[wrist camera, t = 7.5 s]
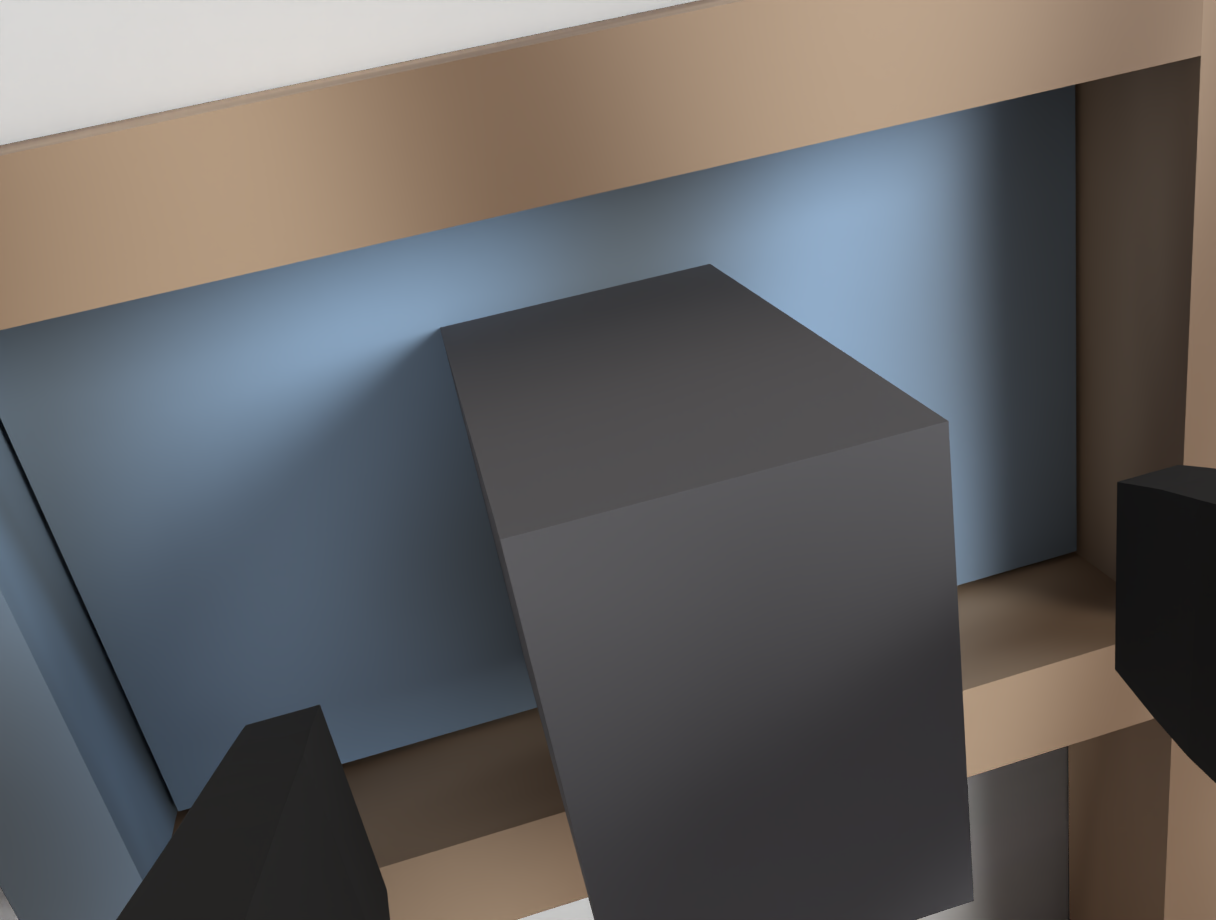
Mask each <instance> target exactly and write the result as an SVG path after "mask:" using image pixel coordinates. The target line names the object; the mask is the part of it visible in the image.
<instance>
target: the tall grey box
mask: <svg viewBox="0 0 1216 920" xmlns="http://www.w3.org/2000/svg"><path fill="white" fill-rule="evenodd" d="M440 330H441V334H442V338H443V342H444V346H445V350H446V354H447V357H448V361H449V365H450V369H451V373H452V377H453V381H454V385H455V389H456V393H457V397H458V401H459V405H460V408H461V412H462V416H463V420H464V424H465V428H466V432H467V436H468V440H469V444H470V448H471V452H472V456H473V459H474V463H475V467H476V471H477V475H478V479H479V483H480V487H481V491H482V495H483V499H484V503H485V507H486V510H487V514H488V518H489V522H490V526H491V530H492V534H493V538H494V542H495V546H496V550H497V554H498V558H499V561H500V565H501V569H502V573H503V577H504V581H505V585H506V589H507V593H508V597H509V601H510V605H511V609H512V612H513V616H514V620H515V624H516V628H517V632H518V636H519V640H520V644H521V648H522V652H523V656H524V660H525V663H526V667H527V671H528V675H529V678H530V682H531V686H532V689H533V693H534V697H535V701H536V704H537V708H538V712H539V715H540V719H541V723H542V727H543V730H544V734H545V738H546V741H547V745H548V749H549V753H550V756H551V760H552V764H553V768H554V771H555V775H556V779H557V782H558V786H559V790H560V794H561V797H562V801H563V805H564V808H565V812H566V816H567V820H568V823H569V827H570V831H571V834H572V838H573V842H574V846H575V849H576V853H577V857H578V861H579V864H580V868H581V872H582V875H583V879H584V883H585V887H586V890H587V894H588V898H589V901H590V905H591V909H592V913H593V916H594V920H917V919H920V918H923V917H926V916H929V915H932V914H935V913H938V912H941V911H944V910H947V909H950V908H953V907H956V906H959V905H962V904H965V903H968V902H971V901H974V899H973V879H972V860H971V841H970V822H969V803H968V784H967V765H966V745H965V726H964V707H963V688H962V669H961V650H960V630H959V611H958V592H957V573H956V554H955V535H954V515H953V496H952V477H951V458H950V439H949V421H948V420H946V419H945V418H943V417H942V416H940V415H939V414H937V413H936V412H934V411H932V410H931V409H929V408H928V407H926V406H925V405H923V404H922V403H920V402H919V401H917V400H916V399H914V398H913V397H911V396H910V395H908V394H907V393H905V392H904V391H902V390H901V389H899V388H898V387H896V386H895V385H893V384H892V383H890V382H889V381H887V380H886V379H884V378H882V377H881V376H879V375H878V374H876V373H875V372H873V371H872V370H870V369H869V368H867V367H866V366H864V365H863V364H861V363H860V362H858V361H857V360H855V359H854V358H852V357H851V356H849V355H848V354H846V353H845V352H843V351H842V350H840V349H839V348H837V347H835V346H834V345H832V344H831V343H829V342H828V341H826V340H825V339H823V338H822V337H820V336H819V335H817V334H816V333H814V332H813V331H811V330H810V329H808V328H807V327H805V326H804V325H802V324H801V323H799V322H798V321H796V320H795V319H793V318H792V317H790V316H788V315H787V314H785V313H784V312H782V311H781V310H779V309H778V308H776V307H775V306H773V305H772V304H770V303H769V302H767V301H766V300H764V299H763V298H761V297H760V296H758V295H757V294H755V293H754V292H752V291H751V290H749V289H748V288H746V287H745V286H743V285H742V284H740V283H738V282H737V281H735V280H734V279H732V278H731V277H729V276H728V275H726V274H725V273H723V272H722V271H720V270H719V269H717V268H716V267H714V266H713V265H711V264H707V265H702V266H698V267H694V268H690V269H686V270H681V271H677V272H673V273H669V274H664V275H660V276H656V277H652V278H647V279H643V280H639V281H635V282H631V283H626V284H622V285H618V286H614V287H609V288H605V289H601V290H597V291H592V292H588V293H584V294H580V295H576V296H571V297H567V298H563V299H559V300H554V301H550V302H546V303H542V304H538V305H533V306H529V307H525V308H521V309H516V310H512V311H508V312H504V313H499V314H495V315H491V316H487V317H483V318H478V319H474V320H470V321H466V322H461V323H457V324H453V325H449V326H444V327H440Z"/></svg>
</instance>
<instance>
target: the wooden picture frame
mask: <svg viewBox="0 0 1216 920" xmlns="http://www.w3.org/2000/svg"><path fill="white" fill-rule="evenodd" d="M707 264H711V265H713V266H714V267H716V268H717V269H719V270H720V271H722V272H723V273H725V274H726V275H728V276H729V277H731V278H732V279H734V280H735V281H737V282H738V283H740V284H742V285H743V286H745V287H746V288H748V289H749V290H751V291H752V292H754V293H755V294H757V295H758V296H760V297H761V298H763V299H764V300H766V301H767V302H769V303H770V304H772V305H773V306H775V307H776V308H778V309H779V310H781V311H782V312H784V313H785V314H787V315H788V316H790V317H792V318H793V319H795V320H796V321H798V322H799V323H801V324H802V325H804V326H805V327H807V328H808V329H810V330H811V331H813V332H814V333H816V334H817V335H819V336H820V337H822V338H823V339H825V340H826V341H828V342H829V343H831V344H832V345H834V346H835V347H837V348H839V349H840V350H842V351H843V352H845V353H846V354H848V355H849V356H851V357H852V358H854V359H855V360H857V361H858V362H860V363H861V364H863V365H864V366H866V367H867V368H869V369H870V370H872V371H873V372H875V373H876V374H878V375H879V376H881V377H882V378H884V379H886V380H887V381H889V382H890V383H892V384H893V385H895V386H896V387H898V388H899V389H901V390H902V391H904V392H905V393H907V394H908V395H910V396H911V397H913V398H914V399H916V400H917V401H919V402H920V403H922V404H923V405H925V406H926V407H928V408H929V409H931V410H932V411H934V412H936V413H937V414H939V415H940V416H942V417H943V418H945V419H946V420H948V421H949V439H950V458H951V477H952V496H953V515H954V535H955V554H956V573H957V592H958V611H959V630H960V650H961V669H962V688H963V707H964V726H965V745H966V765H967V777H970V776H974V775H977V774H980V773H983V772H986V771H989V770H993V769H996V768H999V767H1002V766H1005V765H1009V764H1012V763H1015V762H1018V761H1021V760H1024V759H1028V758H1031V757H1034V756H1037V755H1040V754H1043V753H1047V752H1050V751H1053V750H1056V749H1059V748H1062V747H1066V746H1068V775H1069V916H1070V920H1216V783H1215V782H1214V781H1213V780H1212V779H1211V778H1210V777H1209V776H1208V775H1207V774H1205V773H1204V772H1203V771H1202V770H1201V769H1200V768H1199V767H1198V766H1197V765H1196V764H1195V763H1194V762H1193V761H1192V760H1191V759H1190V758H1189V757H1188V756H1187V755H1186V754H1185V753H1184V752H1183V751H1182V749H1181V748H1180V747H1179V746H1178V745H1177V744H1176V742H1175V741H1174V740H1173V739H1172V738H1171V737H1170V736H1169V734H1168V733H1167V732H1166V731H1165V730H1164V729H1163V728H1162V726H1161V725H1160V724H1159V723H1158V722H1157V721H1156V720H1155V718H1154V717H1153V716H1152V715H1151V714H1150V712H1149V711H1148V710H1147V709H1146V707H1145V706H1144V705H1143V704H1142V702H1141V701H1140V700H1139V699H1138V697H1137V696H1136V695H1135V694H1134V693H1133V691H1132V690H1131V689H1130V688H1129V686H1128V685H1127V684H1126V683H1125V681H1124V680H1123V679H1122V678H1121V676H1120V675H1119V674H1118V673H1117V671H1116V670H1115V616H1116V530H1117V482H1118V481H1122V480H1125V479H1129V478H1133V477H1136V476H1140V475H1143V474H1147V473H1151V472H1154V471H1158V470H1161V469H1165V468H1168V467H1172V466H1176V465H1187V466H1197V467H1207V468H1215V469H1216V0H700V1H695V2H690V3H685V4H680V5H675V6H671V7H666V8H661V9H656V10H651V11H647V12H642V13H637V14H632V15H627V16H622V17H618V18H613V19H608V20H603V21H598V22H593V23H589V24H584V25H579V26H574V27H569V28H565V29H560V30H555V31H550V32H545V33H540V34H536V35H531V36H526V37H521V38H516V39H511V40H507V41H502V42H497V43H492V44H487V45H483V46H478V47H473V48H468V49H463V50H458V51H454V52H449V53H444V54H439V55H434V56H430V57H425V58H420V59H415V60H410V61H405V62H401V63H396V64H391V65H386V66H381V67H376V68H372V69H367V70H362V71H357V72H352V73H348V74H343V75H338V76H333V77H328V78H323V79H319V80H314V81H309V82H304V83H299V84H294V85H290V86H285V87H280V88H275V89H270V90H266V91H261V92H256V93H251V94H246V95H241V96H237V97H232V98H227V99H222V100H217V101H212V102H208V103H203V104H198V105H193V106H188V107H184V108H179V109H174V110H169V111H164V112H159V113H155V114H150V115H145V116H140V117H135V118H131V119H126V120H121V121H116V122H111V123H106V124H102V125H97V126H92V127H87V128H82V129H77V130H73V131H68V132H63V133H58V134H53V135H49V136H44V137H39V138H34V139H29V140H24V141H20V142H15V143H10V144H5V145H0V887H1V889H2V891H3V892H4V894H5V896H6V898H7V899H8V901H9V903H10V905H11V907H12V908H13V910H14V912H15V914H16V915H17V917H18V919H19V920H116V919H117V918H118V916H119V915H120V913H121V912H122V910H123V909H124V907H125V906H126V904H127V903H128V901H129V900H130V898H131V897H132V895H133V894H134V893H135V891H136V890H137V888H138V887H139V885H140V884H141V882H142V881H143V879H144V878H145V876H146V875H147V873H148V872H149V871H150V869H151V868H152V866H153V865H154V863H155V862H156V860H157V859H158V857H159V856H160V854H161V853H162V851H163V850H164V848H165V847H166V845H167V844H168V842H169V841H170V839H171V838H172V836H173V834H174V833H175V831H176V830H177V828H178V827H179V825H180V824H181V822H182V821H183V819H184V818H185V816H186V815H187V813H188V812H189V810H190V808H191V807H192V805H193V804H194V802H195V801H196V799H197V798H198V796H199V795H200V793H201V791H202V790H203V788H204V787H205V785H206V784H207V782H208V781H209V779H210V778H211V776H212V775H213V773H214V772H215V770H216V769H217V767H218V766H219V764H220V763H221V761H222V759H223V758H224V756H225V755H226V753H227V752H228V750H229V749H230V747H231V746H232V744H233V743H234V741H235V740H236V738H237V737H238V735H239V734H240V732H241V731H242V730H243V728H244V727H245V725H248V724H252V723H255V722H259V721H263V720H266V719H270V718H273V717H277V716H280V715H284V714H288V713H291V712H295V711H298V710H302V709H305V708H309V707H313V706H316V705H320V706H321V709H322V711H323V714H324V717H325V720H326V723H327V725H328V728H329V731H330V734H331V736H332V739H333V742H334V745H335V747H336V750H337V753H338V756H339V759H340V761H341V764H342V767H343V770H344V772H345V775H346V778H347V781H348V783H349V786H350V789H351V792H352V794H353V797H354V800H355V803H356V806H357V808H358V811H359V814H360V817H361V819H362V822H363V825H364V828H365V830H366V833H367V836H368V839H369V841H370V844H371V847H372V850H373V853H374V855H375V858H376V861H377V864H378V866H379V869H380V872H381V875H382V877H383V880H384V883H385V886H386V889H387V895H388V904H389V913H390V920H517V919H520V918H523V917H527V916H530V915H533V914H536V913H539V912H542V911H546V910H549V909H552V908H555V907H558V906H561V905H565V904H568V903H571V902H574V901H577V900H580V899H584V898H587V897H588V894H587V890H586V887H585V883H584V879H583V875H582V872H581V868H580V864H579V861H578V857H577V853H576V849H575V846H574V842H573V838H572V834H571V831H570V827H569V823H568V820H567V816H566V812H565V808H564V805H563V801H562V797H561V794H560V790H559V786H558V782H557V779H556V775H555V771H554V768H553V764H552V760H551V756H550V753H549V749H548V745H547V741H546V738H545V734H544V730H543V727H542V723H541V719H540V715H539V712H538V708H537V704H536V701H535V697H534V693H533V689H532V686H531V682H530V678H529V675H528V671H527V667H526V663H525V660H524V656H523V652H522V648H521V644H520V640H519V636H518V632H517V628H516V624H515V620H514V616H513V612H512V609H511V605H510V601H509V597H508V593H507V589H506V585H505V581H504V577H503V573H502V569H501V565H500V561H499V558H498V554H497V550H496V546H495V542H494V538H493V534H492V530H491V526H490V522H489V518H488V514H487V510H486V507H485V503H484V499H483V495H482V491H481V487H480V483H479V479H478V475H477V471H476V467H475V463H474V459H473V456H472V452H471V448H470V444H469V440H468V436H467V432H466V428H465V424H464V420H463V416H462V412H461V408H460V405H459V401H458V397H457V393H456V389H455V385H454V381H453V377H452V373H451V369H450V365H449V361H448V357H447V354H446V350H445V346H444V342H443V338H442V334H441V330H440V327H444V326H449V325H453V324H457V323H461V322H466V321H470V320H474V319H478V318H483V317H487V316H491V315H495V314H499V313H504V312H508V311H512V310H516V309H521V308H525V307H529V306H533V305H538V304H542V303H546V302H550V301H554V300H559V299H563V298H567V297H571V296H576V295H580V294H584V293H588V292H592V291H597V290H601V289H605V288H609V287H614V286H618V285H622V284H626V283H631V282H635V281H639V280H643V279H647V278H652V277H656V276H660V275H664V274H669V273H673V272H677V271H681V270H686V269H690V268H694V267H698V266H702V265H707Z"/></svg>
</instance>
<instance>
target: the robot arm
mask: <svg viewBox="0 0 1216 920" xmlns="http://www.w3.org/2000/svg"><path fill="white" fill-rule="evenodd" d="M1115 670H1116V671H1117V673H1118V674H1119V675H1120V676H1121V678H1122V679H1123V680H1124V681H1125V683H1126V684H1127V685H1128V686H1129V688H1130V689H1131V690H1132V691H1133V693H1134V694H1135V695H1136V696H1137V697H1138V699H1139V700H1140V701H1141V702H1142V704H1143V705H1144V706H1145V707H1146V709H1147V710H1148V711H1149V712H1150V714H1151V715H1152V716H1153V717H1154V718H1155V720H1156V721H1157V722H1158V723H1159V724H1160V725H1161V726H1162V728H1163V729H1164V730H1165V731H1166V732H1167V733H1168V734H1169V736H1170V737H1171V738H1172V739H1173V740H1174V741H1175V742H1176V744H1177V745H1178V746H1179V747H1180V748H1181V749H1182V751H1183V752H1184V753H1185V754H1186V755H1187V756H1188V757H1189V758H1190V759H1191V760H1192V761H1193V762H1194V763H1195V764H1196V765H1197V766H1198V767H1199V768H1200V769H1201V770H1202V771H1203V772H1204V773H1205V774H1207V775H1208V776H1209V777H1210V778H1211V779H1212V780H1213V781H1214V782H1215V783H1216V469H1215V468H1207V467H1197V466H1187V465H1176V466H1172V467H1168V468H1165V469H1161V470H1158V471H1154V472H1151V473H1147V474H1143V475H1140V476H1136V477H1133V478H1129V479H1125V480H1122V481H1118V482H1117V530H1116V616H1115ZM116 920H390V913H389V904H388V895H387V889H386V886H385V883H384V880H383V877H382V875H381V872H380V869H379V866H378V864H377V861H376V858H375V855H374V853H373V850H372V847H371V844H370V841H369V839H368V836H367V833H366V830H365V828H364V825H363V822H362V819H361V817H360V814H359V811H358V808H357V806H356V803H355V800H354V797H353V794H352V792H351V789H350V786H349V783H348V781H347V778H346V775H345V772H344V770H343V767H342V764H341V761H340V759H339V756H338V753H337V750H336V747H335V745H334V742H333V739H332V736H331V734H330V731H329V728H328V725H327V723H326V720H325V717H324V714H323V711H322V709H321V706H320V705H316V706H313V707H309V708H305V709H302V710H298V711H295V712H291V713H288V714H284V715H280V716H277V717H273V718H270V719H266V720H263V721H259V722H255V723H252V724H248V725H245V727H244V728H243V730H242V731H241V732H240V734H239V735H238V737H237V738H236V740H235V741H234V743H233V744H232V746H231V747H230V749H229V750H228V752H227V753H226V755H225V756H224V758H223V759H222V761H221V763H220V764H219V766H218V767H217V769H216V770H215V772H214V773H213V775H212V776H211V778H210V779H209V781H208V782H207V784H206V785H205V787H204V788H203V790H202V791H201V793H200V795H199V796H198V798H197V799H196V801H195V802H194V804H193V805H192V807H191V808H190V810H189V812H188V813H187V815H186V816H185V818H184V819H183V821H182V822H181V824H180V825H179V827H178V828H177V830H176V831H175V833H174V834H173V836H172V838H171V839H170V841H169V842H168V844H167V845H166V847H165V848H164V850H163V851H162V853H161V854H160V856H159V857H158V859H157V860H156V862H155V863H154V865H153V866H152V868H151V869H150V871H149V872H148V873H147V875H146V876H145V878H144V879H143V881H142V882H141V884H140V885H139V887H138V888H137V890H136V891H135V893H134V894H133V895H132V897H131V898H130V900H129V901H128V903H127V904H126V906H125V907H124V909H123V910H122V912H121V913H120V915H119V916H118V918H117V919H116Z"/></svg>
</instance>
